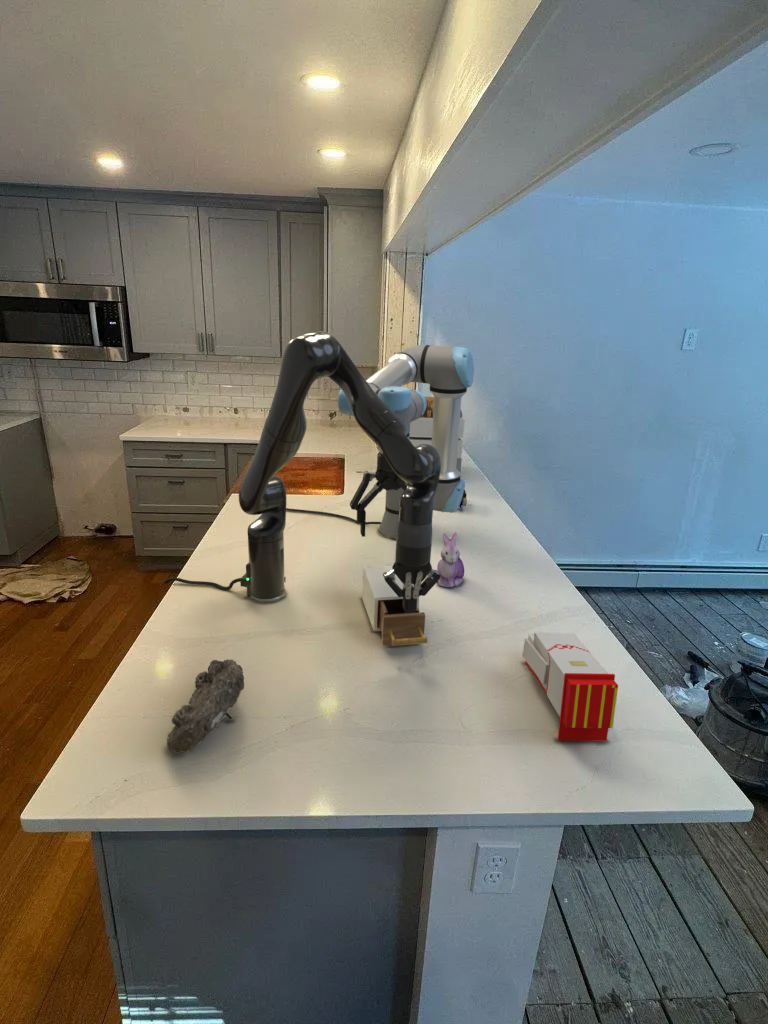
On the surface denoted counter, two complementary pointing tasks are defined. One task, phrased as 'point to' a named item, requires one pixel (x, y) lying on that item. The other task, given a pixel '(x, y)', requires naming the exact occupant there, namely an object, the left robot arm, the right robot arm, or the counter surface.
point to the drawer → (400, 624)
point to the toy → (573, 684)
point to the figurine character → (463, 500)
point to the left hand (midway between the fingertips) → (409, 611)
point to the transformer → (423, 430)
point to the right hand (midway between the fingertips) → (389, 533)
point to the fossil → (206, 705)
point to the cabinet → (377, 591)
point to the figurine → (450, 563)
